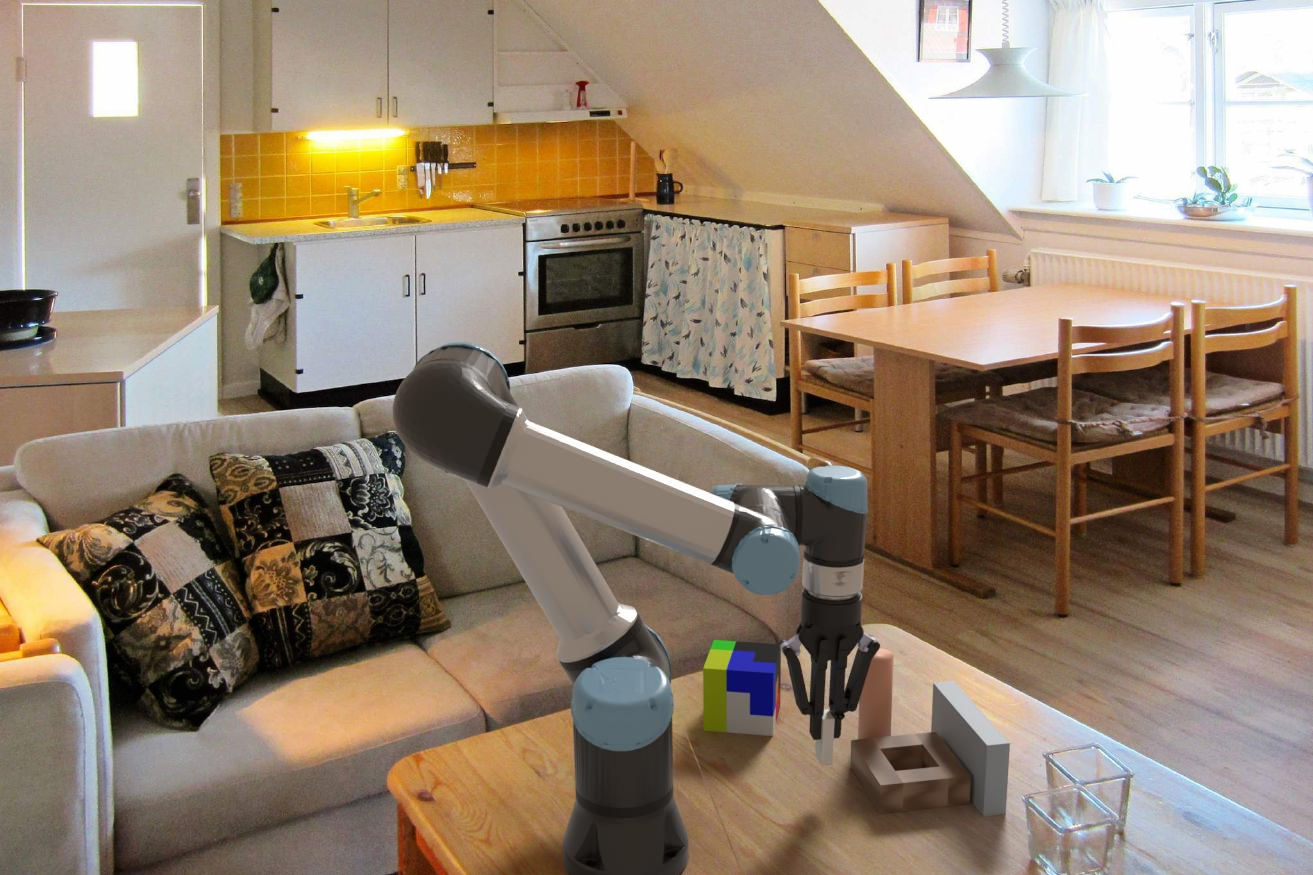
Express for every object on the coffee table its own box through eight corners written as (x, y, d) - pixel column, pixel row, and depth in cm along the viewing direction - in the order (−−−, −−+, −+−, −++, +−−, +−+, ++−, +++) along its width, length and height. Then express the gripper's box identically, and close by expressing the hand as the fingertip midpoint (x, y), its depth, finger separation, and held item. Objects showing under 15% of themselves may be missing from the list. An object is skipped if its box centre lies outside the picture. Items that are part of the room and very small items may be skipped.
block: (879, 813, 163) (880, 785, 162) (850, 766, 175) (851, 740, 174) (969, 803, 165) (971, 775, 164) (934, 758, 176) (935, 731, 175)
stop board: (983, 817, 162) (987, 745, 160) (930, 748, 179) (933, 682, 177) (1005, 814, 163) (1010, 743, 160) (950, 746, 180) (953, 680, 177)
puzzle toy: (773, 737, 183) (773, 673, 181) (703, 732, 185) (703, 668, 183) (780, 706, 193) (780, 644, 190) (714, 701, 195) (714, 639, 192)
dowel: (863, 756, 178) (866, 662, 174) (853, 740, 182) (855, 649, 178) (895, 753, 178) (898, 660, 175) (884, 737, 183) (887, 646, 179)
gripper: (789, 603, 156) (782, 778, 162) (892, 598, 158) (881, 770, 164) (773, 581, 163) (767, 749, 169) (872, 576, 165) (862, 742, 171)
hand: (823, 759), depth 167 cm, fingers closed
